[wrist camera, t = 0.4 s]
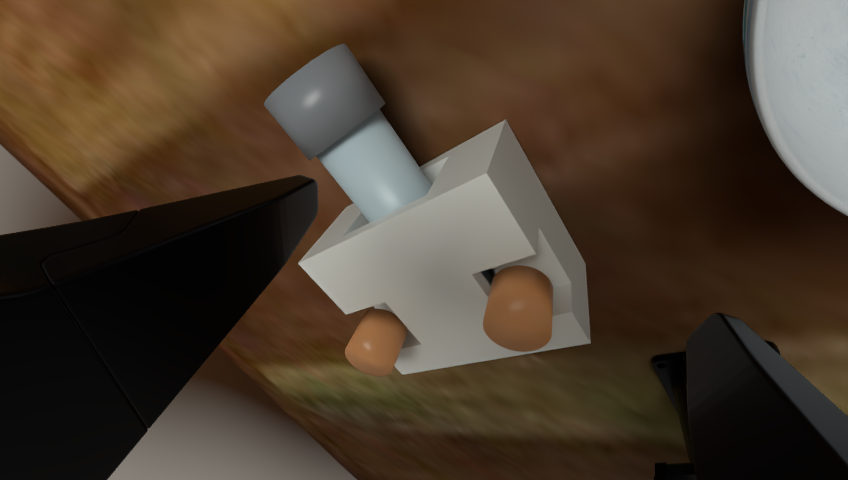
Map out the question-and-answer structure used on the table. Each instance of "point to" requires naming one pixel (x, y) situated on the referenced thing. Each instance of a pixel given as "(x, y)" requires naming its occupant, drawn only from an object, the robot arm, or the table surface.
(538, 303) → the plunger
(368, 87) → the cartridge
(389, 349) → the plunger
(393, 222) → the housing
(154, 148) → the table surface
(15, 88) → the table surface
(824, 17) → the chinaware
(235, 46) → the table surface
